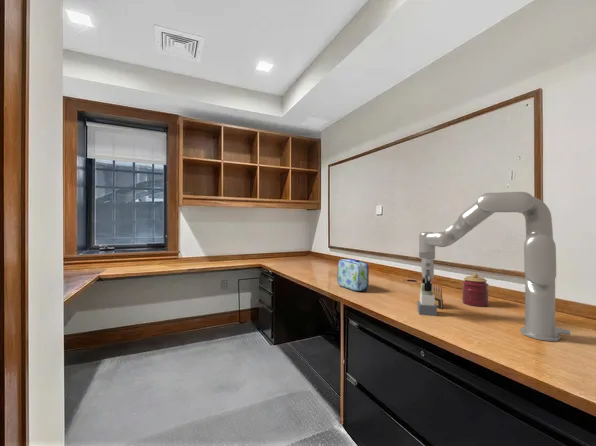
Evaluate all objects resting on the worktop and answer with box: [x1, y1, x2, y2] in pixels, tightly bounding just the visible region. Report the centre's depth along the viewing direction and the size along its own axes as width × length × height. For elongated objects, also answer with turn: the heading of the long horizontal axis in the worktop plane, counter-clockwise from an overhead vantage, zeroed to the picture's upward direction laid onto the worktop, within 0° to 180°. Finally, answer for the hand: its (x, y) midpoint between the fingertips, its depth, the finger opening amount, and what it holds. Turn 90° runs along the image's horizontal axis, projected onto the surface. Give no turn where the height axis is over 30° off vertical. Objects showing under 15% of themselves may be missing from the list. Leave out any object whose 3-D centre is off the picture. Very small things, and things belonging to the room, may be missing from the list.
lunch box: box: [336, 258, 370, 292], centre depth 201 cm, size 26×11×21 cm, turn 27°
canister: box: [461, 272, 489, 307], centre depth 164 cm, size 13×13×18 cm
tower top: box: [419, 291, 435, 306], centre depth 147 cm, size 6×6×5 cm
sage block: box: [420, 282, 434, 296], centre depth 147 cm, size 5×5×5 cm
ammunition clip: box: [432, 284, 444, 310], centre depth 159 cm, size 11×2×12 cm, turn 13°
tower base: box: [417, 300, 438, 317], centre depth 147 cm, size 8×8×5 cm
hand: (426, 288), depth 146 cm, fingers open, 9 cm apart
